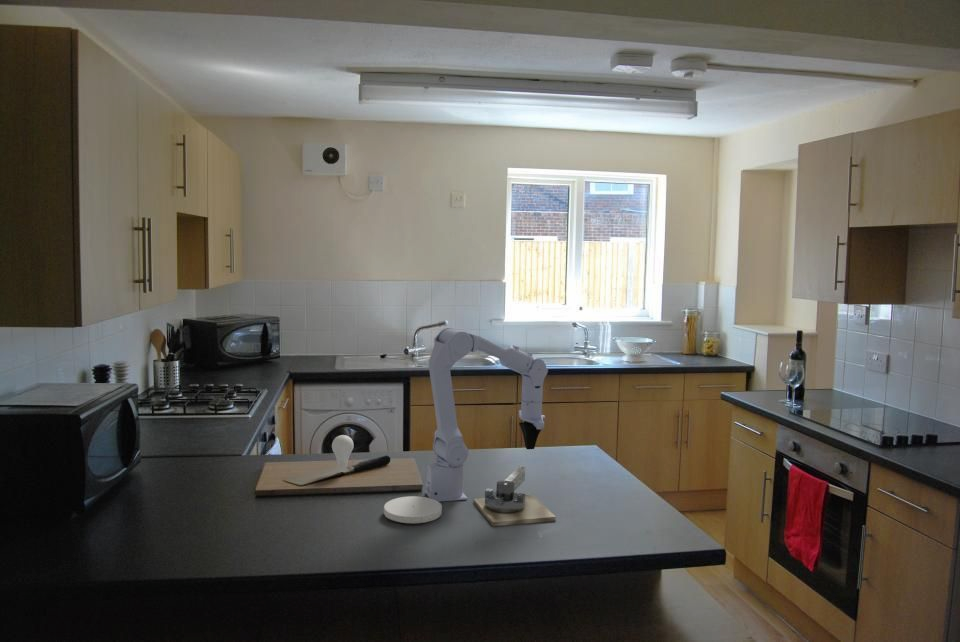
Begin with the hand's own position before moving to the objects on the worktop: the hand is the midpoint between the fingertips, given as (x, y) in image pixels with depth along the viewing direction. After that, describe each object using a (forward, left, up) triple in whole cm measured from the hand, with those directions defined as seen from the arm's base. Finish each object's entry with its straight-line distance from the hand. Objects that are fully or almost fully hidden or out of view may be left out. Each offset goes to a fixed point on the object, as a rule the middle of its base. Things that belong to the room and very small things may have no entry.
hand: (529, 448), depth 195 cm
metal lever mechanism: (-10, -13, -9) cm, 19 cm away
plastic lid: (-36, -15, -11) cm, 40 cm away
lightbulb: (-49, +21, -11) cm, 54 cm away
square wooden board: (-11, -18, -10) cm, 23 cm away
